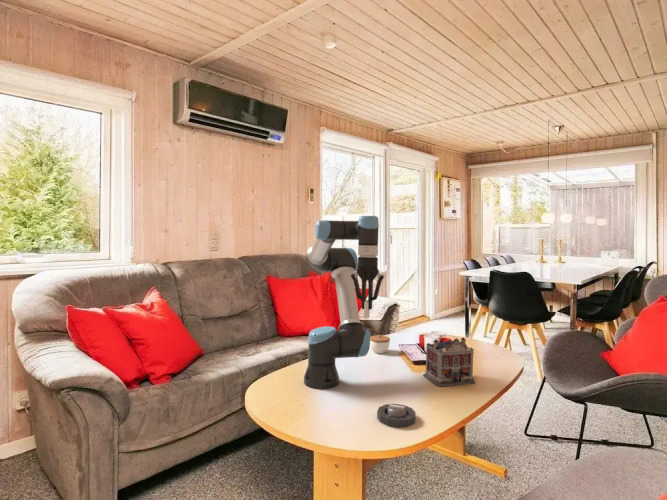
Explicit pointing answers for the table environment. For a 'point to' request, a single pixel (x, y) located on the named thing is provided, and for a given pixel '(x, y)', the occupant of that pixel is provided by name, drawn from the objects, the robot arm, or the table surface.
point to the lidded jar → (379, 343)
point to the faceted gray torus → (396, 421)
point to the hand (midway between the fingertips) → (366, 317)
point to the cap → (396, 410)
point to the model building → (449, 363)
